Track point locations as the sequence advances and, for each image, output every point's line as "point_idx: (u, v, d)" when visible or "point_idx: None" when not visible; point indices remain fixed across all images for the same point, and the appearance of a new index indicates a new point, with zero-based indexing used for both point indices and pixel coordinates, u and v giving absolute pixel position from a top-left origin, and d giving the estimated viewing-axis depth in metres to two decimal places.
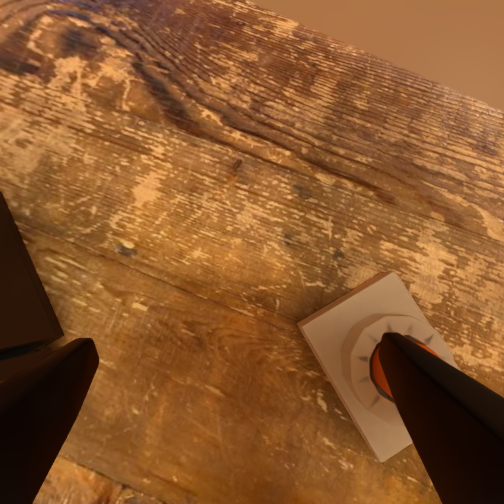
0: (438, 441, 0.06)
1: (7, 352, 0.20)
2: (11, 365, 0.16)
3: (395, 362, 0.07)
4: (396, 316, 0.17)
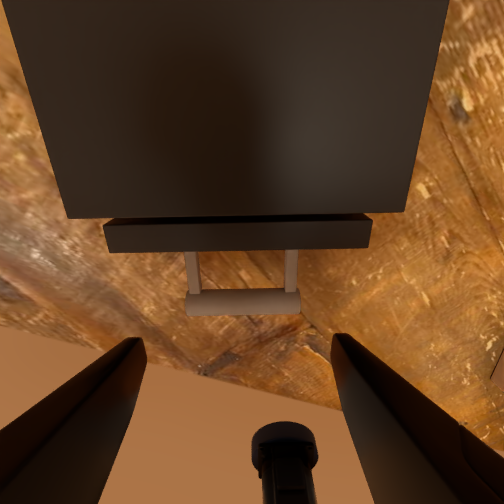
0: (370, 442, 0.06)
1: None
2: None
3: (340, 363, 0.07)
4: None
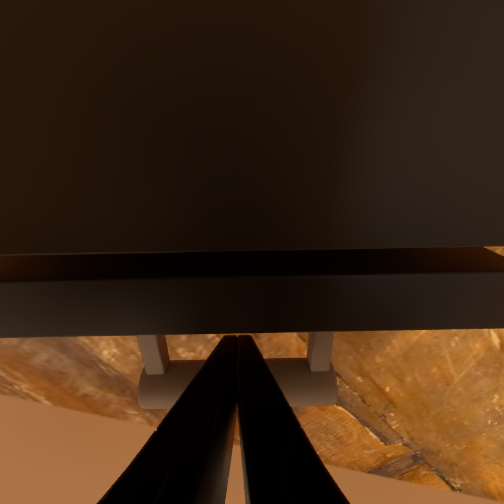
0: (241, 445, 0.06)
1: None
2: None
3: None
4: None
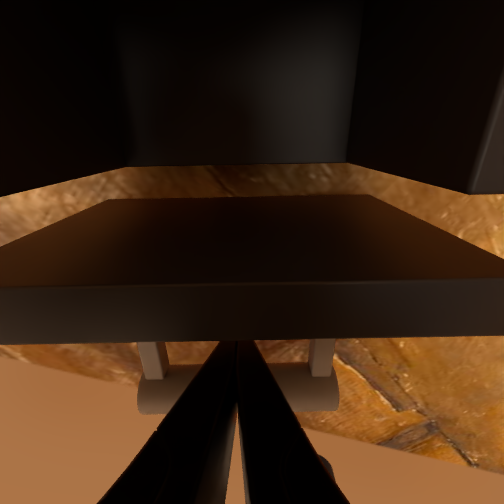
0: (240, 445, 0.06)
1: None
2: None
3: None
4: None
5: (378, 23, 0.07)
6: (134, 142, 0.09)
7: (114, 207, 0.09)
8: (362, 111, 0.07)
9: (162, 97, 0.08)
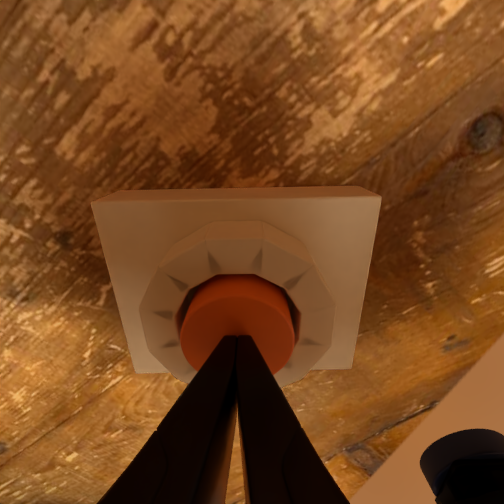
0: (241, 445, 0.06)
1: None
2: None
3: None
4: (148, 290, 0.08)
5: None
6: None
7: None
8: None
9: None
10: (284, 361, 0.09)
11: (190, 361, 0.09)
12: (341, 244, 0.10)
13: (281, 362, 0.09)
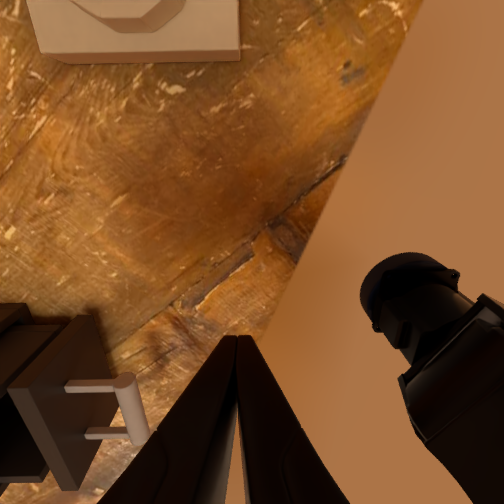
0: (240, 445, 0.06)
1: None
2: (54, 346, 0.18)
3: None
4: None
5: None
6: None
7: None
8: None
9: None
10: None
11: None
12: None
13: None
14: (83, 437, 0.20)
